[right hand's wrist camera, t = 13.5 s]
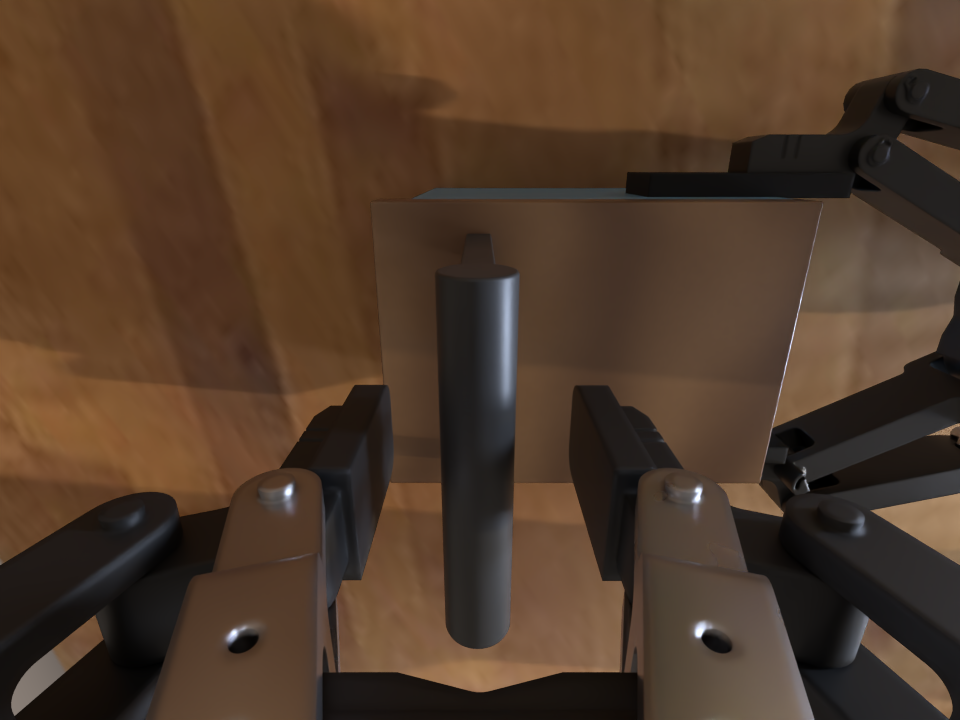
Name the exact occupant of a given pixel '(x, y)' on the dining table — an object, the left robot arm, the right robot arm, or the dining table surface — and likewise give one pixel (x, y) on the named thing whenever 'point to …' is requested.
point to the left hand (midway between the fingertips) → (622, 323)
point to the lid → (575, 348)
